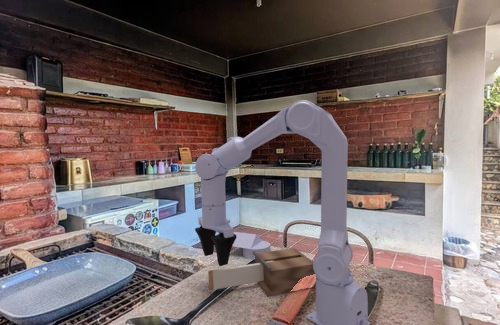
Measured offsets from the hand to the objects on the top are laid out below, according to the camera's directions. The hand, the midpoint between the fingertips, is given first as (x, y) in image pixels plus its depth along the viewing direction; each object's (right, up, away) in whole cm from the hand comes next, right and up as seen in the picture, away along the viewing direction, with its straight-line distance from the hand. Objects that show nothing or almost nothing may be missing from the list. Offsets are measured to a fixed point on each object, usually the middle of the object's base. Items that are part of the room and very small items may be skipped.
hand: (215, 259), depth 69 cm
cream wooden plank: (+7, -7, +2) cm, 10 cm away
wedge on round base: (+9, -7, +26) cm, 28 cm away
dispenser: (+17, -8, +6) cm, 19 cm away
